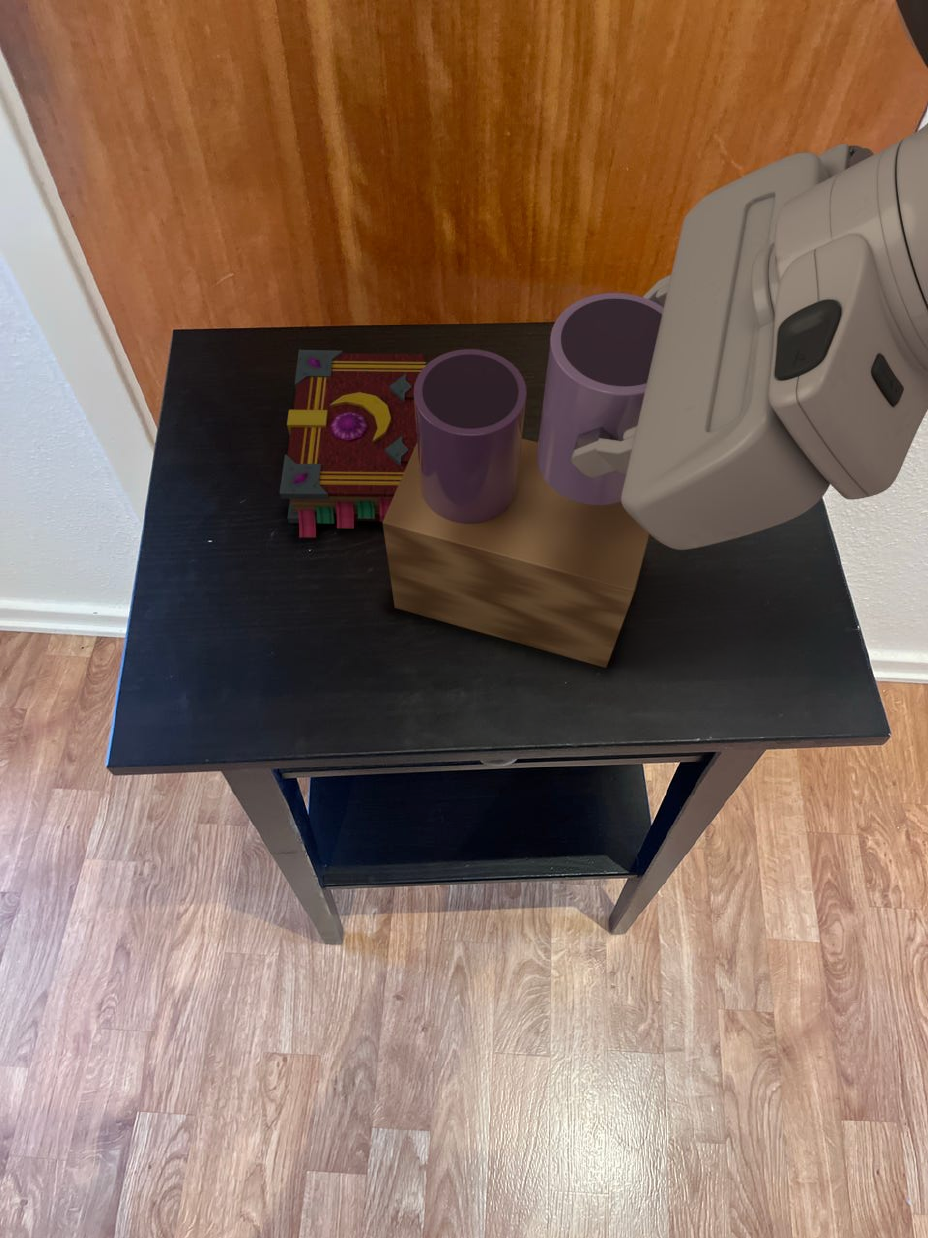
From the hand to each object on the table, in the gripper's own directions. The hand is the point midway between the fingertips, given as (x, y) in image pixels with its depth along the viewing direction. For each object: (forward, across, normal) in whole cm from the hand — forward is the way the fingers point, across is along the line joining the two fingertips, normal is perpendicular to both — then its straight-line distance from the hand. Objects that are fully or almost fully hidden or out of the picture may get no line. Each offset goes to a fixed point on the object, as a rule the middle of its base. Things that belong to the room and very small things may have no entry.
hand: (596, 399), depth 45 cm
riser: (+20, -2, +15) cm, 25 cm away
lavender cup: (+3, 0, +4) cm, 5 cm away
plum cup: (+14, -2, +4) cm, 15 cm away
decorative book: (+31, -11, +4) cm, 33 cm away
